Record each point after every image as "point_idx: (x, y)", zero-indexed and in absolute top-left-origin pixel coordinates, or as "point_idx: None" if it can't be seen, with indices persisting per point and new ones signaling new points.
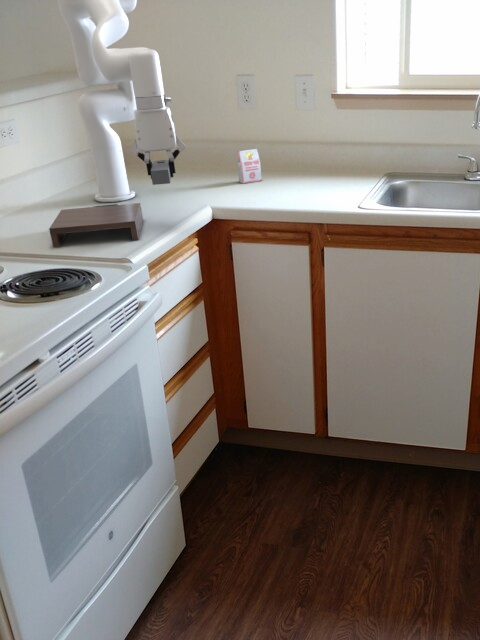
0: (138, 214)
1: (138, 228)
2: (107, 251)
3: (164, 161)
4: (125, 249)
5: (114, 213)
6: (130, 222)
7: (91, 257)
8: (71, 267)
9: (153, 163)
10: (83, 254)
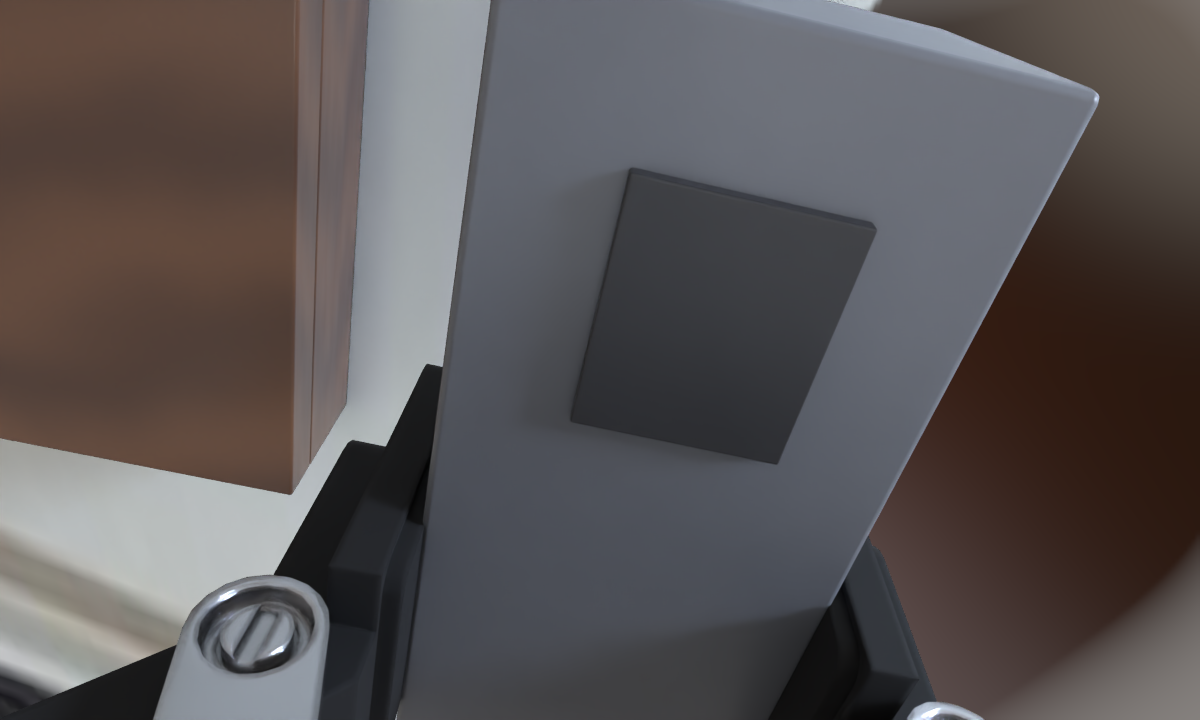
0: (310, 153)
1: (334, 309)
2: (160, 524)
3: (785, 421)
4: (272, 540)
5: (24, 115)
6: (255, 483)
7: (84, 577)
8: (18, 662)
9: (459, 408)
10: (14, 510)
